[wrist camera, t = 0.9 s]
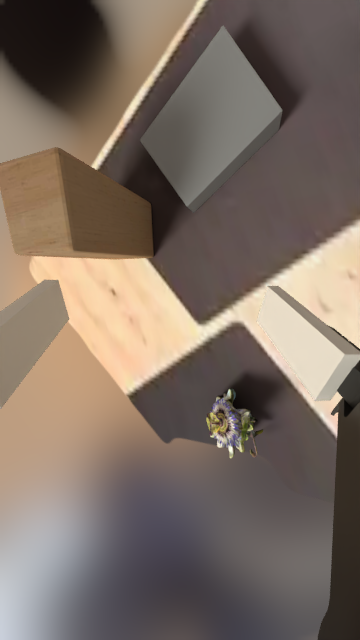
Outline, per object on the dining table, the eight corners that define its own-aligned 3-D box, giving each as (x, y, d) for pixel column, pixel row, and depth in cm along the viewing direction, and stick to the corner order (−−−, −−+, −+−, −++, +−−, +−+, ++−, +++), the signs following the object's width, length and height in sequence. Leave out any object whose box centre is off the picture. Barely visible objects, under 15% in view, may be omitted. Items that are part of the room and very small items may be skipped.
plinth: (226, 55, 29) (222, 25, 25) (278, 129, 29) (282, 110, 25) (151, 153, 35) (139, 140, 32) (193, 212, 35) (187, 206, 32)
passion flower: (224, 385, 48) (217, 380, 38) (270, 408, 44) (277, 410, 33) (204, 431, 46) (191, 440, 35) (252, 461, 41) (253, 481, 31)
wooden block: (108, 208, 41) (-8, 163, 23) (151, 202, 37) (57, 143, 19) (113, 259, 43) (13, 255, 25) (154, 257, 40) (73, 251, 22)
